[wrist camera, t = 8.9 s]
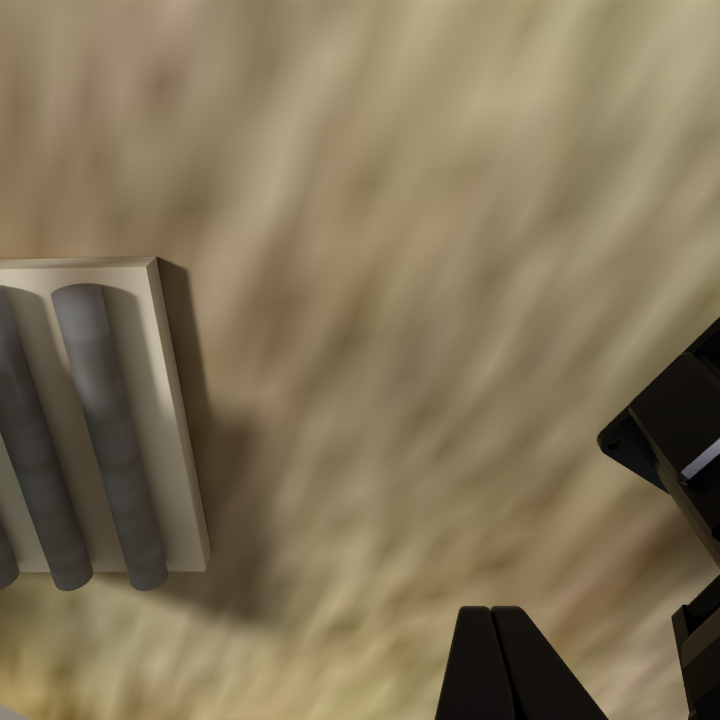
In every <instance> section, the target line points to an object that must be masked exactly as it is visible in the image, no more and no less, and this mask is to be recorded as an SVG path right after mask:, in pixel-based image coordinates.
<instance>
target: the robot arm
mask: <svg viewBox="0 0 720 720" xmlns="http://www.w3.org/2000/svg"><path fill="white" fill-rule="evenodd" d="M612 439H617V440H616V442H614V443H612V444H608V443H609V441H611V440H612ZM597 443H598V445H599V447H600V449H601V451H602V452H603V453H604V454H606V455H607V456H609V457H610V458H612V459H614V460H615V461H617V462H618V463H620V464H622V465H623V466H625V467H626V468H628V469H630V470H631V471H633V472H634V473H636V474H638V475H639V476H641V477H642V478H644V479H646V480H647V481H649V482H650V483H652V484H654V485H655V486H657V487H658V488H660V489H662V490H663V491H665V492H666V493H668V494H670V495H671V496H672V498H673V499H674V501H675V502H676V504H677V505H678V507H679V508H680V510H681V511H682V513H683V514H684V516H685V517H686V519H687V520H688V522H689V523H690V525H691V526H692V528H693V529H694V531H695V532H696V534H697V535H698V537H699V538H700V540H701V541H702V543H703V544H704V546H705V547H706V549H707V550H708V552H709V553H710V555H711V556H712V558H713V559H714V561H715V562H716V564H717V565H718V567H719V568H720V317H719V318H718V319H717V320H716V321H715V322H714V323H713V324H712V325H711V326H710V327H709V328H708V329H707V330H706V331H705V332H704V333H703V334H702V335H700V336H699V337H698V338H697V339H696V340H695V341H694V342H693V343H692V344H691V345H690V346H689V347H688V348H687V349H686V350H685V351H684V352H683V353H682V354H681V355H679V356H678V357H677V358H676V359H675V360H674V361H673V362H672V363H671V364H670V365H669V366H668V367H667V368H666V369H665V370H664V371H663V372H662V373H661V374H660V375H659V376H658V377H656V378H655V379H654V380H653V381H652V382H651V383H650V384H649V385H648V386H647V387H646V388H645V389H644V390H643V391H642V392H641V393H640V394H639V395H638V396H637V397H636V398H635V399H634V400H633V401H632V402H631V403H630V404H629V405H628V406H627V407H626V408H625V409H624V410H623V411H622V412H621V413H620V414H619V415H618V416H617V417H616V418H615V419H614V420H613V421H611V422H610V423H609V424H608V425H607V426H606V427H605V428H604V429H603V430H602V431H601V432H600V434H599V435H598V437H597ZM672 623H673V629H674V634H675V639H676V645H677V650H678V655H679V660H680V666H681V671H682V676H683V681H684V687H685V692H686V697H687V703H688V708H689V713H690V714H689V716H688V720H720V574H719V575H718V576H717V577H716V578H715V579H714V580H713V581H712V582H711V583H710V584H709V585H708V586H707V587H706V588H705V589H704V590H703V591H702V592H701V593H700V594H699V595H698V596H697V597H696V598H695V599H694V600H693V601H692V602H691V603H690V604H689V605H682V606H681V607H680V608H679V609H678V610H677V611H676V612H675V613H674V614H673V615H672ZM435 720H609V719H608V718H607V717H606V716H605V714H604V713H603V712H602V710H601V709H600V708H599V707H598V705H597V704H596V703H595V701H594V700H593V699H592V697H591V696H590V695H589V694H588V692H587V691H586V690H585V688H584V687H583V686H582V685H581V683H580V682H579V681H578V679H577V678H576V677H575V676H574V674H573V673H572V672H571V670H570V669H569V668H568V667H567V665H566V664H565V663H564V661H563V660H562V659H561V658H560V656H559V655H558V654H557V652H556V651H555V650H554V649H553V647H552V646H551V645H550V643H549V642H548V641H547V639H546V638H545V637H544V636H543V634H542V633H541V632H540V630H539V629H538V628H537V627H536V625H535V624H534V623H533V621H532V620H531V619H530V618H529V616H528V615H527V614H526V612H525V611H524V610H523V609H522V608H520V607H518V606H494V607H492V608H491V609H490V610H489V608H488V607H486V606H463V607H461V608H460V609H459V613H458V617H457V621H456V626H455V630H454V635H453V639H452V644H451V648H450V653H449V657H448V662H447V666H446V671H445V675H444V680H443V684H442V689H441V693H440V698H439V702H438V707H437V711H436V716H435Z"/></svg>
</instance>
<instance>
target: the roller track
mask: <svg viewBox="0 0 720 720" xmlns="http://www.w3.org/2000/svg"><path fill="white" fill-rule="evenodd" d="M210 557H211V548H210V542H209V537H208V532H207V526H206V521H205V516H204V510H203V505H202V500H201V494H200V489H199V484H198V478H197V473H196V467H195V462H194V457H193V451H192V446H191V441H190V435H189V430H188V425H187V419H186V414H185V409H184V403H183V398H182V393H181V387H180V382H179V377H178V371H177V366H176V361H175V355H174V350H173V345H172V339H171V334H170V328H169V323H168V318H167V312H166V307H165V302H164V296H163V291H162V286H161V280H160V275H159V270H158V264H157V259H156V257H109V258H55V259H1V260H0V589H3V588H5V587H7V586H8V585H10V584H11V583H12V582H13V581H14V580H15V579H16V578H17V577H18V575H19V573H41V572H51V574H52V577H53V580H54V582H55V585H56V587H57V588H58V589H59V590H62V591H71V590H75V589H78V588H80V587H82V586H83V585H85V584H86V583H87V582H88V581H89V580H90V579H91V577H92V575H93V572H128V574H129V578H130V581H131V584H132V586H133V587H134V588H135V589H137V590H141V591H146V590H151V589H154V588H156V587H158V586H159V585H161V584H162V583H163V582H164V581H165V579H166V577H167V575H168V572H206V569H207V566H208V563H209V560H210Z"/></svg>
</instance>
